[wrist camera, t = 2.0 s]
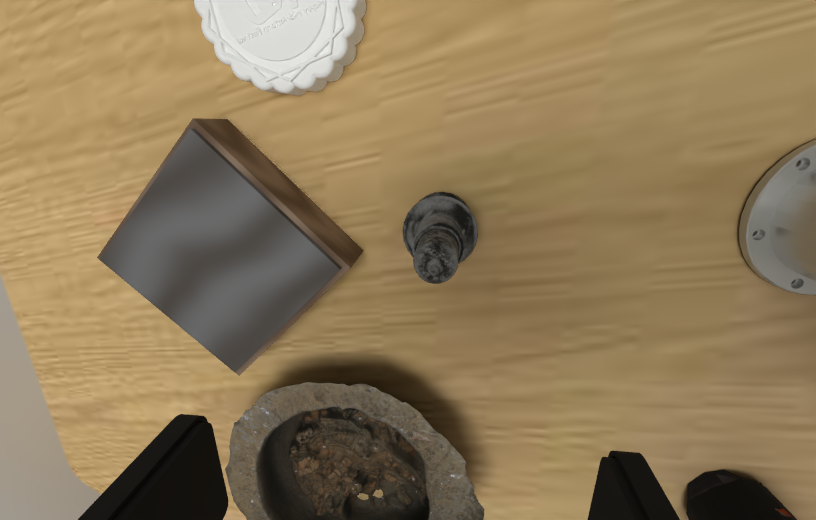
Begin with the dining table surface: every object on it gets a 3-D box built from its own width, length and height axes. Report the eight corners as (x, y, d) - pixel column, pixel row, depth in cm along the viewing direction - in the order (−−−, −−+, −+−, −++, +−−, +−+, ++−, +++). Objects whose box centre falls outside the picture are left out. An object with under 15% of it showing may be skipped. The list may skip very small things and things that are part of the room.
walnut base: (363, 250, 35) (348, 270, 30) (262, 349, 40) (236, 379, 35) (227, 119, 32) (188, 118, 28) (137, 242, 37) (92, 259, 33)
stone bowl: (420, 551, 47) (405, 645, 38) (243, 459, 48) (189, 531, 39) (520, 412, 38) (530, 494, 29) (299, 303, 39) (245, 351, 30)
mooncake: (330, -119, 26) (312, -155, 23) (389, 63, 30) (380, 55, 26) (189, -43, 29) (154, -65, 25) (258, 117, 32) (234, 116, 29)
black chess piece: (400, 243, 34) (373, 301, 23) (418, 179, 32) (398, 209, 21) (462, 262, 34) (466, 330, 23) (485, 200, 32) (501, 240, 21)
